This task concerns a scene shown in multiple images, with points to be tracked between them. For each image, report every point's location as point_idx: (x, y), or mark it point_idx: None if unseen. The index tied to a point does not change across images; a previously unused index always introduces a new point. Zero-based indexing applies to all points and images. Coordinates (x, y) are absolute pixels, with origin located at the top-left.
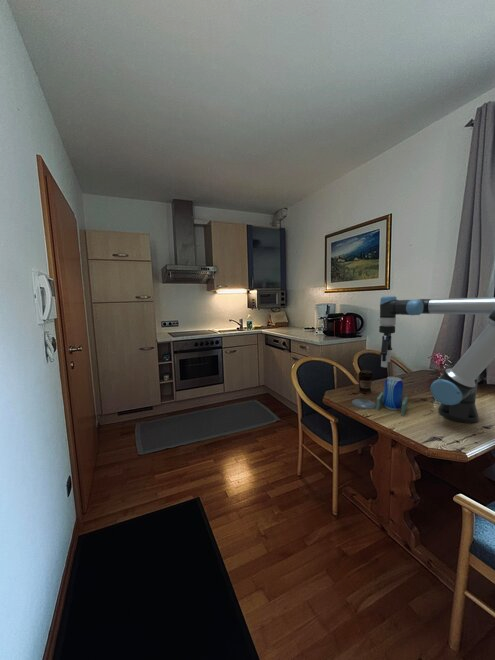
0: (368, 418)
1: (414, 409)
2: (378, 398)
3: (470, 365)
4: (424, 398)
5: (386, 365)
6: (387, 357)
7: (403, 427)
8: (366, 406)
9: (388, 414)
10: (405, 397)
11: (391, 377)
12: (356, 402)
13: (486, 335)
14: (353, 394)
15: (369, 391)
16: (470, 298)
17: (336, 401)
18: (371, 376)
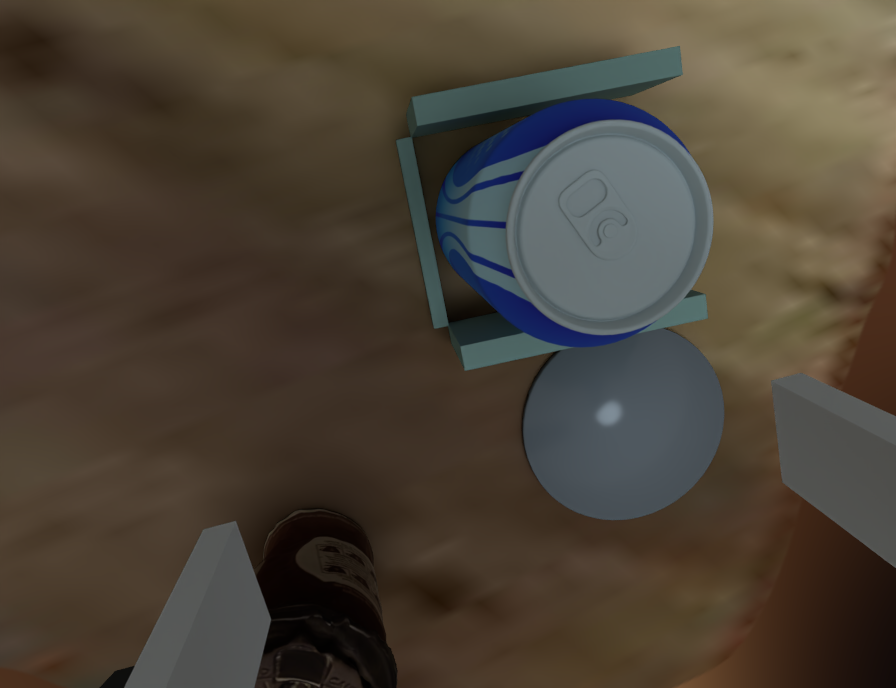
0: (863, 270)
1: (393, 45)
2: (694, 308)
3: None
4: None
5: (831, 393)
6: (231, 645)
7: (845, 3)
8: (678, 378)
9: None
10: (454, 110)
11: (552, 294)
12: (655, 474)
13: None
14: (467, 589)
15: (318, 521)
16: None
17: (723, 595)
18: (320, 609)
